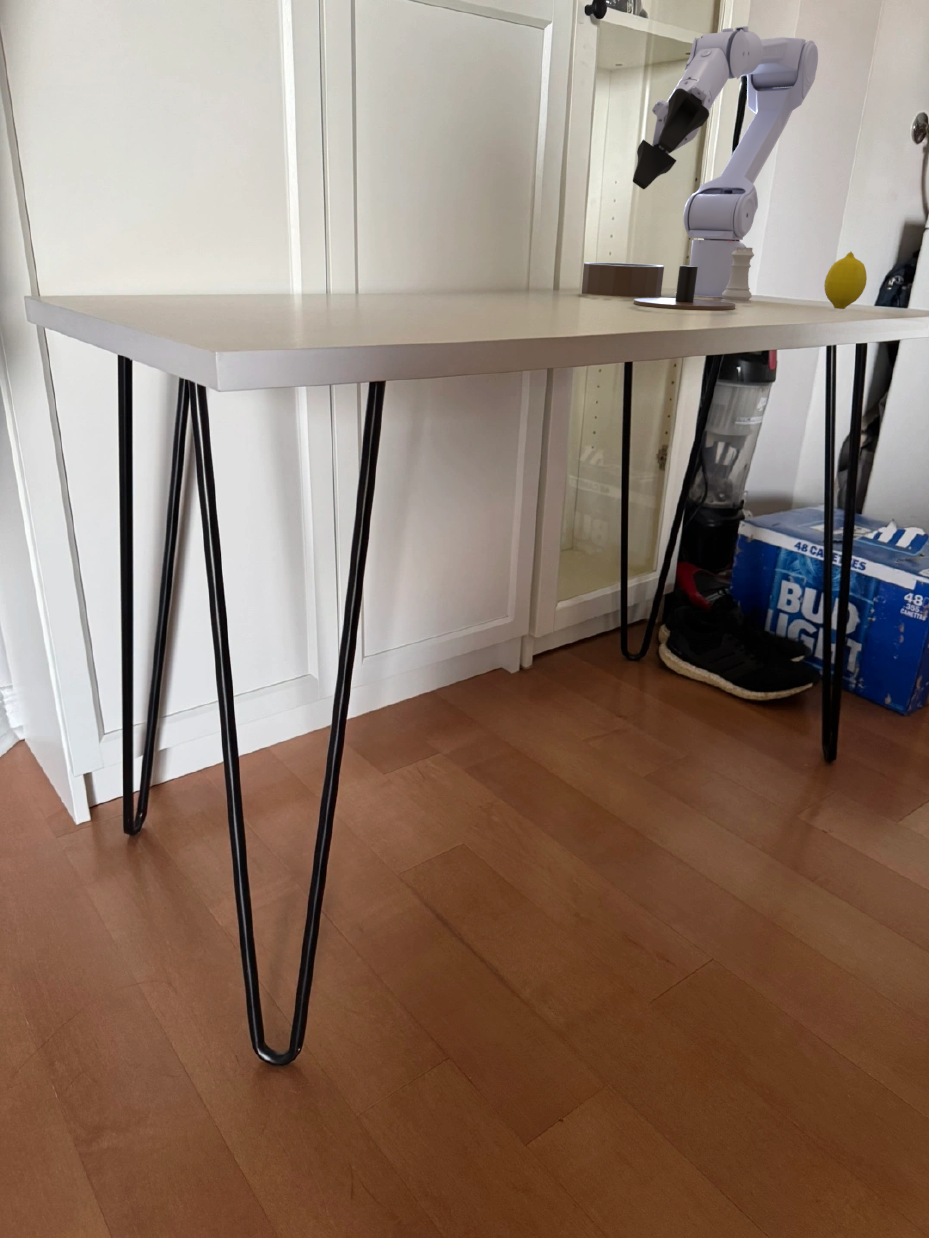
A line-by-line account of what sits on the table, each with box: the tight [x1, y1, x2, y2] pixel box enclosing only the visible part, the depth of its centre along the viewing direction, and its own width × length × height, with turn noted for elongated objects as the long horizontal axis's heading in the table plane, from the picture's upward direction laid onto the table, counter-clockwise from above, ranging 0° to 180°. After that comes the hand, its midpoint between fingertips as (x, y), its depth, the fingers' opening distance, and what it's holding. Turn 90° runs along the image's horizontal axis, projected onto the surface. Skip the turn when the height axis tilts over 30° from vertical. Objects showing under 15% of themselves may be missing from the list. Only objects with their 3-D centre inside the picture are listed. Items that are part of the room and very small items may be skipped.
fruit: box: [823, 251, 868, 310], centre depth 127 cm, size 6×6×8 cm
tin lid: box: [633, 265, 737, 311], centre depth 119 cm, size 14×14×6 cm
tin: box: [581, 261, 665, 298], centre depth 139 cm, size 12×12×5 cm
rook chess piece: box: [720, 246, 755, 304], centre depth 130 cm, size 4×4×8 cm
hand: (651, 166), depth 120 cm, fingers open, 7 cm apart
